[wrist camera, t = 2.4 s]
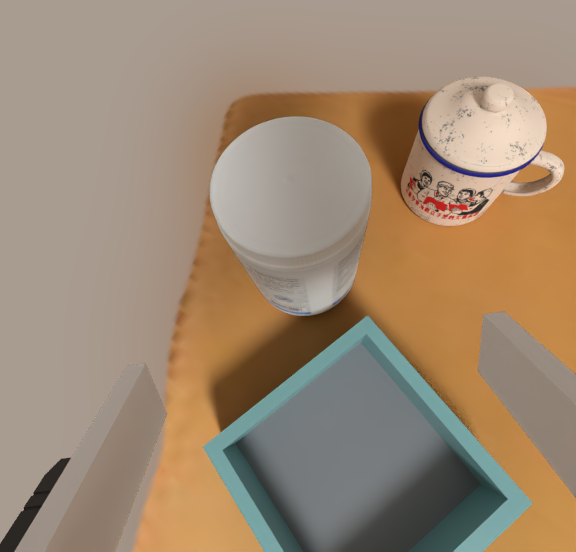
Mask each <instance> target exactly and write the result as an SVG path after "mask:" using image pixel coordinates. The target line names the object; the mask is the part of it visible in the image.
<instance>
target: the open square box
mask: <svg viewBox="0 0 576 552" xmlns="http://www.w3.org/2000/svg"><path fill="white" fill-rule="evenodd" d="M203 448H204V450H205V451H206V453H207V455H208V457H209V458H210V460H211V462H212V463H213V465H214V467H215V469H216V470H217V472H218V474H219V475H220V477H221V479H222V480H223V482H224V484H225V486H226V487H227V489H228V491H229V492H230V494H231V496H232V497H233V499H234V501H235V503H236V504H237V506H238V508H239V509H240V511H241V513H242V514H243V516H244V518H245V520H246V521H247V523H248V525H249V526H250V528H251V530H252V531H253V533H254V535H255V537H256V538H257V540H258V542H259V543H260V545H261V547H262V548H263V550H264V552H483V551H484V550H485V549H486V548H487V547H488V546H489V545H490V544H491V543H492V542H493V541H494V540H495V539H496V538H497V537H499V536H500V535H501V534H502V533H503V532H504V531H505V530H506V529H507V528H508V527H509V526H510V525H511V524H512V523H513V522H514V521H515V520H516V519H517V518H518V517H519V516H520V515H521V514H522V513H523V512H524V511H525V510H526V509H527V508H528V507H530V506H531V505H532V504H533V503H532V502H531V501H530V500H529V499H528V497H527V496H526V495H525V494H524V493H523V492H522V491H521V489H520V488H519V487H518V486H517V485H516V484H515V483H514V481H513V480H512V479H511V478H510V477H509V476H508V475H507V473H506V472H505V471H504V470H503V469H502V468H501V467H500V465H499V464H498V463H497V462H496V461H495V460H494V459H493V458H492V456H491V455H490V454H489V453H488V452H487V451H486V450H485V448H484V447H483V446H482V445H481V444H480V443H479V442H478V440H477V439H476V438H475V437H474V436H473V435H472V434H471V432H470V431H469V430H468V429H467V428H466V427H465V426H464V424H463V423H462V422H461V421H460V420H459V419H458V418H457V417H456V415H455V414H454V413H453V412H452V411H451V410H450V409H449V407H448V406H447V405H446V404H445V403H444V402H443V401H442V399H441V398H440V397H439V396H438V395H437V394H436V393H435V391H434V390H433V389H432V388H431V387H430V386H429V385H428V384H427V382H426V381H425V380H424V379H423V378H422V377H421V376H420V374H419V373H418V372H417V371H416V370H415V369H414V368H413V366H412V365H411V364H410V363H409V362H408V361H407V360H406V358H405V357H404V356H403V355H402V354H401V353H400V352H399V350H398V349H397V348H396V347H395V346H394V345H393V344H392V343H391V341H390V340H389V339H388V338H387V337H386V336H385V335H384V333H383V332H382V331H381V330H380V329H379V328H378V327H377V325H376V324H375V323H374V322H373V321H372V320H371V319H370V317H369V316H368V315H367V316H366V317H365V318H364V319H362V320H361V321H360V322H359V323H357V324H356V325H355V326H354V327H352V328H351V329H350V330H349V331H347V332H346V333H345V334H344V335H342V336H341V337H340V338H339V339H337V340H336V341H335V342H333V343H332V344H331V345H330V346H328V347H327V348H326V349H325V350H323V351H322V352H321V353H320V354H318V355H317V356H316V357H315V358H313V359H312V360H311V361H310V362H308V363H307V364H306V365H305V366H303V367H302V368H301V369H300V370H298V371H297V372H296V373H295V374H293V375H292V376H291V377H290V378H288V379H287V380H286V381H285V382H283V383H282V384H281V385H280V386H278V387H277V388H276V389H275V390H273V391H272V392H271V393H270V394H268V395H267V396H266V397H265V398H263V399H262V400H261V401H260V402H258V403H257V404H256V405H255V406H253V407H252V408H251V409H250V410H248V411H247V412H246V413H245V414H243V415H242V416H241V417H240V418H238V419H237V420H236V421H235V422H233V423H232V424H231V425H230V426H228V427H227V428H226V429H225V430H223V431H222V432H221V433H219V434H218V435H217V436H216V437H214V438H213V439H212V440H211V441H209V442H208V443H207V444H206V445H204V446H203Z"/></svg>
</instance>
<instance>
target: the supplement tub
mask: <svg viewBox="0 0 576 552" xmlns="http://www.w3.org/2000/svg"><path fill="white" fill-rule="evenodd" d="M371 189H372V177H371V170H370V166H369V163H368V160H367V158H366V155H365V153H364V152H363V150H362V148H361V147H360V146H359V144H358V143H357V142H356V141H355V140H354V139H353V138H352V137H351V136H350V135H349V134H348V133H346V132H345V131H344V130H342V129H341V128H339V127H337V126H335V125H333V124H331V123H329V122H326V121H323V120H320V119H316V118H311V117H300V116H292V117H282V118H276V119H272V120H269V121H266V122H263V123H260V124H258V125H256V126H254V127H252V128H250V129H248V130H247V131H245V132H244V133H242V134H241V135H239V136H238V137H237V138H236V139H235V140H234V141H232V142H231V144H230V145H229V146H228V147H227V148H226V149H225V150H224V152H223V153H222V155H221V156H220V157H219V159H218V161H217V163H216V165H215V167H214V170H213V173H212V177H211V181H210V202H211V207H212V211H213V214H214V216H215V218H216V221H217V223H218V226H219V229H220V231H221V233H222V234H223V236H224V238H225V239H226V241H227V242H228V244H229V246H230V247H231V249H232V250H233V252H234V253H235V255H236V256H237V258H238V259H239V261H240V262H241V264H242V265H243V267H244V268H245V270H246V271H247V273H248V274H249V276H250V277H251V279H252V280H253V282H254V283H255V285H256V286H257V288H258V289H259V291H260V292H261V293H262V295H263V296H264V297H265V299H266V300H267V301H268V302H269V303H270V304H272V305H273V306H274V307H275V308H277V309H279V310H281V311H283V312H285V313H288V314H292V315H297V316H311V315H317V314H320V313H323V312H325V311H328V310H329V309H331V308H333V307H334V306H336V305H337V304H338V303H339V302H340V301H341V300H342V299H343V298H344V297H345V296H346V295H347V293H348V292H349V291H350V289H351V287H352V285H353V282H354V279H355V276H356V272H357V268H358V263H359V259H360V254H361V250H362V245H363V241H364V236H365V232H366V228H367V223H368V219H369V213H370V208H371V200H372V190H371Z"/></svg>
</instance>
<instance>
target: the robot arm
mask: <svg viewBox="0 0 576 552" xmlns="http://www.w3.org/2000/svg"><path fill="white" fill-rule="evenodd" d="M478 372H479V373H480V375H481V376H482V377H483V379H484V380H485V381H486V383H487V384H488V385H489V386H490V388H491V389H492V390H493V392H494V393H495V394H496V395H497V397H498V398H499V399H500V401H501V402H502V403H503V405H504V406H505V407H506V408H507V410H508V411H509V412H510V414H511V415H512V416H513V417H514V419H515V420H516V421H517V423H518V424H519V425H520V427H521V428H522V429H523V430H524V432H525V433H526V434H527V436H528V437H529V438H530V439H531V441H532V442H533V443H534V445H535V446H536V447H537V449H538V450H539V451H540V452H541V454H542V455H543V456H544V458H545V459H546V460H547V462H548V463H549V464H550V465H551V467H552V468H553V469H554V471H555V472H556V473H557V474H558V476H559V477H560V478H561V480H562V481H563V482H564V484H565V485H566V486H567V487H568V489H569V490H570V491H571V493H572V494H573V495H574V496H575V498H576V374H575V373H573V372H572V371H571V370H570V369H569V368H568V367H567V366H566V365H564V364H563V363H562V362H561V361H560V360H559V359H558V358H556V357H555V356H554V355H553V354H552V353H551V352H550V351H548V350H547V349H546V348H545V347H544V346H543V345H542V344H540V343H539V342H538V341H537V340H536V339H535V338H534V337H532V336H531V335H530V334H529V333H528V332H527V331H526V330H525V329H523V328H522V327H521V326H520V325H519V324H518V323H517V322H515V321H514V320H513V319H512V318H511V317H510V316H509V315H507V314H506V313H505V312H497V313H490V314H483V323H482V334H481V344H480V355H479V365H478ZM166 415H167V413H166V411H165V408H164V406H163V403H162V401H161V399H160V396H159V394H158V391H157V389H156V387H155V384H154V382H153V379H152V377H151V375H150V372H149V370H148V367H147V365H146V363H143V364H136V365H129V366H126V368H125V370H124V371H123V373H122V375H121V376H120V378H119V380H118V381H117V383H116V385H115V386H114V388H113V390H112V391H111V393H110V395H109V396H108V398H107V400H106V401H105V403H104V404H103V406H102V408H101V409H100V411H99V413H98V415H97V416H96V418H95V419H94V421H93V423H92V424H91V426H90V428H89V429H88V431H87V433H86V434H85V436H84V438H83V439H82V441H81V442H80V444H79V446H78V447H77V449H76V451H75V452H74V454H73V456H72V457H71V458H66V459H61V460H60V461H59V462H58V463H57V464H56V465H55V466H54V467H53V468H52V469H51V470H50V471H49V472H48V473H47V474H46V475H45V476H44V477H43V479H42V481H41V482H40V484H39V485H38V487H37V488H36V490H35V491H34V495H33V496H31V497H30V499H29V500H28V502H27V503H26V505H25V507H24V511H22V512H21V513H20V514H19V516H18V517H17V519H16V520H15V522H14V524H13V525H12V527H11V528H10V530H9V531H8V533H7V534H6V536H5V538H4V539H3V540H2V542H1V544H0V552H115V551H116V548H117V546H118V543H119V540H120V538H121V535H122V532H123V530H124V527H125V524H126V522H127V519H128V516H129V514H130V511H131V508H132V506H133V503H134V500H135V498H136V495H137V492H138V490H139V487H140V484H141V482H142V479H143V476H144V474H145V471H146V468H147V466H148V463H149V460H150V458H151V455H152V452H153V450H154V447H155V444H156V442H157V439H158V436H159V434H160V431H161V428H162V426H163V423H164V420H165V418H166Z"/></svg>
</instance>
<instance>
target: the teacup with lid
mask: <svg viewBox="0 0 576 552" xmlns="http://www.w3.org/2000/svg"><path fill="white" fill-rule="evenodd" d="M546 130H547V126H546V118H545V115H544V112H543V110H542V108H541V106H540V105H539V103H538V102H537V101H536V99H535V98H534V97H533V96H532V95H531V94H529V93H528V92H527V91H526V90H524V89H523V88H521V87H519V86H517V85H515V84H513V83H510V82H508V81H505V80H502V79H498V78H493V77H470V78H465V79H460V80H457V81H454V82H452V83H450V84H448V85H446V86H444V87H443V88H441V89H440V90H438V91H437V92H436V93H435V94H434V95H433V96H432V97H431V98H430V99H429V100H428V102H427V103H426V104H425V106H424V108H423V110H422V112H421V115H420V119H419V130H418V133H417V135H416V138H415V141H414V144H413V147H412V150H411V152H410V155H409V158H408V161H407V164H406V167H405V169H404V172H403V175H402V179H401V191H402V195H403V198H404V200H405V202H406V204H407V205H408V207H409V208H410V209H411V210H412V211H413V212H414V213H415V214H416V215H418V216H419V217H420V218H422V219H424V220H426V221H428V222H431V223H434V224H437V225H443V226H456V225H462V224H466V223H469V222H471V221H473V220H475V219H477V218H478V217H479V216H481V215H482V214H483V213H484V212H485V211H486V210H487V208H488V207H489V206H490V205H491V204H492V203H493V201H494V200H495V199H496V198H497V197H498V196H499V194H500V193H504V194H508V195H513V196H530V195H535V194H539V193H542V192H545V191H547V190H549V189H551V188H552V187H554V186H555V185H556V184H557V183H558V182H559V181H560V180H561V178H562V176H563V173H564V164H563V162H562V161H561V159H560V158H559V157H557V156H556V155H554V154H552V153H549V152H546V151H542V150H541V149H542V147H543V144H544V140H545V137H546ZM529 164H532V165H536V166H539V167H542V168H545V169H547V170H548V171H549V172H550V173H551V174H549V175H548V176H546V177H544V178H542V179H540V180H537V181H534V182H528V183H519V182H513V181H511V180H512V179H513V178H514V177H515V176H516V175H517V173H518V172H519V171H520V170H521V169H523V168H524V167H526V166H527V165H529Z"/></svg>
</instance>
